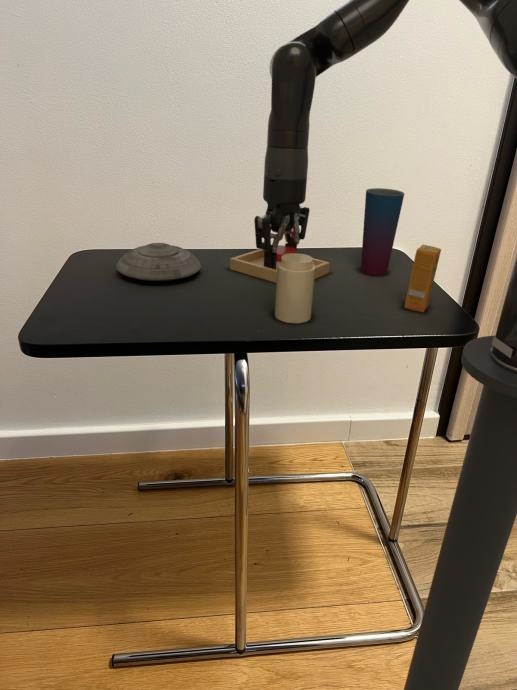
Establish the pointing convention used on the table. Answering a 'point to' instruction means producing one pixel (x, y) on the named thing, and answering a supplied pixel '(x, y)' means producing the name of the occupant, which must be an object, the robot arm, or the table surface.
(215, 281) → the table surface
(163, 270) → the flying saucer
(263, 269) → the tray
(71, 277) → the table surface
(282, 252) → the lid
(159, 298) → the table surface
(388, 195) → the cup
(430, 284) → the supplement box
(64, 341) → the table surface
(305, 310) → the jar
